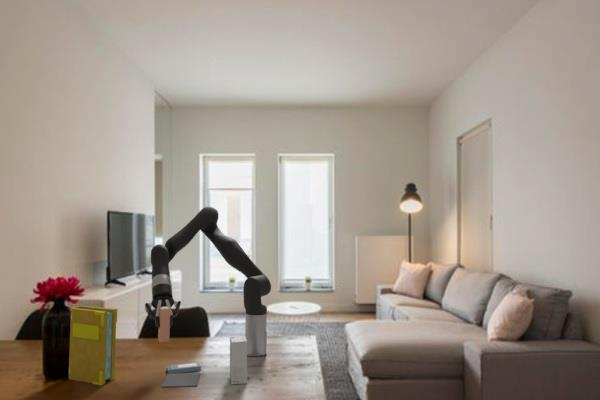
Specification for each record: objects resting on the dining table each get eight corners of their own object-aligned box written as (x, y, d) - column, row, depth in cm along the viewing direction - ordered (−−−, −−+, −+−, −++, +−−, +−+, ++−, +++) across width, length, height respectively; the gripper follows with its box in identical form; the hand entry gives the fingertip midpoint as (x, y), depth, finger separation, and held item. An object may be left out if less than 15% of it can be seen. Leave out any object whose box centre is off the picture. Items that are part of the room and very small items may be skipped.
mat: (200, 373, 161) (200, 372, 161) (197, 386, 149) (197, 385, 149) (167, 374, 160) (167, 373, 160) (161, 387, 148) (161, 386, 148)
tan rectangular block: (167, 337, 165) (168, 305, 165) (169, 341, 160) (170, 308, 160) (158, 338, 163) (158, 306, 164) (159, 342, 159) (160, 309, 159)
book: (115, 378, 155) (117, 308, 156) (101, 385, 149) (103, 312, 150) (78, 372, 161) (81, 305, 162) (63, 378, 155) (66, 308, 156)
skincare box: (247, 384, 152) (248, 341, 153) (230, 385, 151) (231, 342, 152) (245, 375, 160) (246, 335, 161) (228, 376, 159) (229, 335, 160)
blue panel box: (198, 365, 170) (198, 361, 170) (200, 370, 165) (200, 366, 165) (167, 369, 165) (167, 365, 165) (168, 374, 161) (168, 369, 161)
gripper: (178, 292, 177) (182, 330, 165) (142, 295, 171) (143, 333, 159) (181, 281, 172) (185, 319, 160) (143, 283, 166) (145, 322, 155)
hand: (164, 326), depth 160 cm, fingers closed on tan rectangular block, 3 cm apart
